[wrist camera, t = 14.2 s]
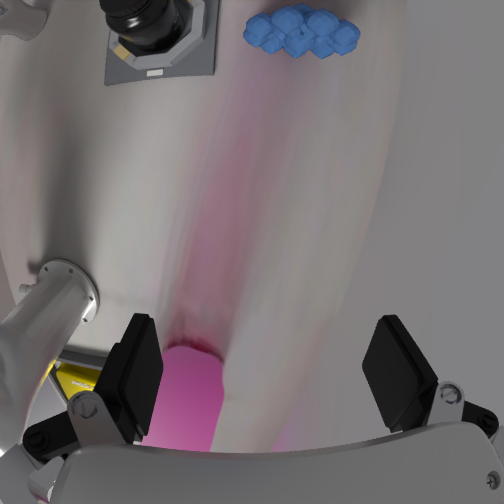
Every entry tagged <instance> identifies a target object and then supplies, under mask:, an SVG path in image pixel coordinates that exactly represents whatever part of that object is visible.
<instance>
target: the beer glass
mask: <svg viewBox="0 0 504 504" xmlns="http://www.w3.org/2000/svg"><path fill="white" fill-rule="evenodd" d="M46 20H47V10H46V9H44V8H40V7H33V6H30V5H28V4H27V3H26V2H24V1H23V0H0V35H13V36H16V37H18V38H19V39H21V40H23V41H28V40H31V39H32V38H34V37H35V36H36V35H37V34H38V33H39V32H40V31H41V30H42V28H43V26H44V25H45V23H46Z"/></svg>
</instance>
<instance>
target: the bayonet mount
mask: <svg viewBox="0 0 504 504" xmlns="http://www.w3.org/2000/svg"><path fill="white" fill-rule="evenodd" d="M174 1H175V3H176V5H177V7H178V9H179V10H180V12H181V14H182V16H183V19H184V30H183V33H182V35H181V36H180V38H179V39H178V40H177V41H176V42H175V43H174V44H173V45H172V46H170V47H168V48H167V49H164V50H162V51H158V52H144V51H142V50H139V49H138V48H136V47H135V46H133V45H132V44H131V43H129V42H128V41H126V40H125V39H124V38H122V37H121V36H119V35H118V34H117V33H115V32H114V31H112V30H111V29H110V34H109V41H108V49H107V58H106V68H105V81H104V85H106V86H108V85H113V84H119V83H125V82H132V81H139V80H147V79H156V78H167V77H180V76H201V75H214V58H215V43H216V30H217V18H218V7H219V0H174Z"/></svg>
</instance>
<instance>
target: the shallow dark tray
mask: <svg viewBox="0 0 504 504" xmlns="http://www.w3.org/2000/svg"><path fill="white" fill-rule="evenodd" d="M106 360H107V358H101V357H95V356H90V355H85V354H80V353H75V352H70V351H65V350H62V352H61V353H60V355H59V357H58V358H57V361H61V362H65V363H69V364H73V365H78V366H82V367H87V368H92V369H97V370H102V369H103V367H104V364H105V362H106ZM56 371H57V370H56V368H55V366H54V365H53V366H52V368H51V370H50V372H49V373H48V375H49V377H50V379H51V380H52V382H53V384H54V385H55V387H56V389H57V390H58V392H59V393H60V395H61V397H62V398H63V400H64V401H65V403H66V404H68V401H69V400H68V398H67V396H66V394H65V392H64V390H63V388H62V386H61V384H60V382H59V380H58V378H57V375H56Z"/></svg>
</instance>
